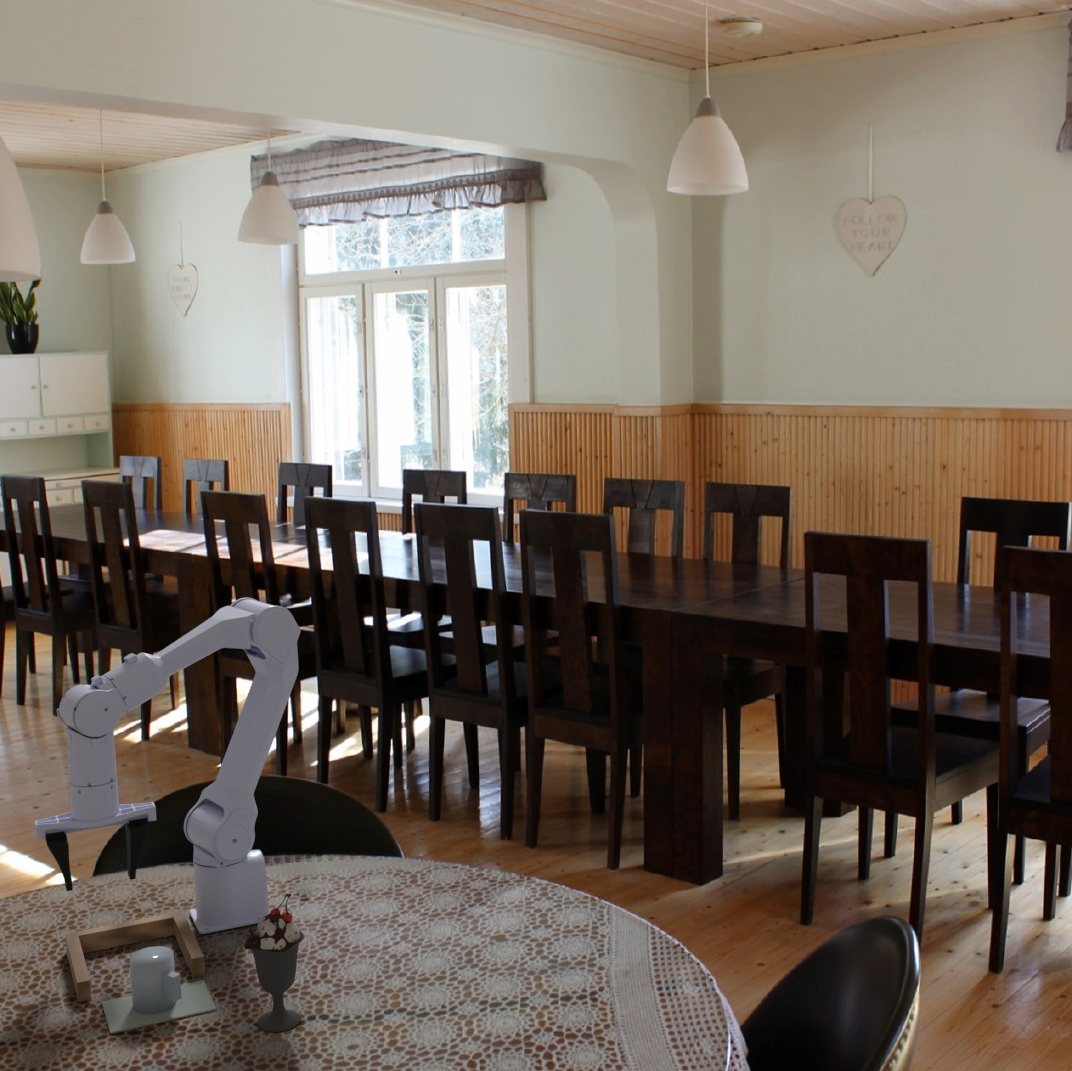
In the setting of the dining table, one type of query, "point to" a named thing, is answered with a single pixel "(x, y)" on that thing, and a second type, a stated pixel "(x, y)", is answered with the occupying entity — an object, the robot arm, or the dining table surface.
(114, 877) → the dining table surface
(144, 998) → the grey rounded cylinder
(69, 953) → the wooden frame
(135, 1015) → the mat
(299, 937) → the sundae
